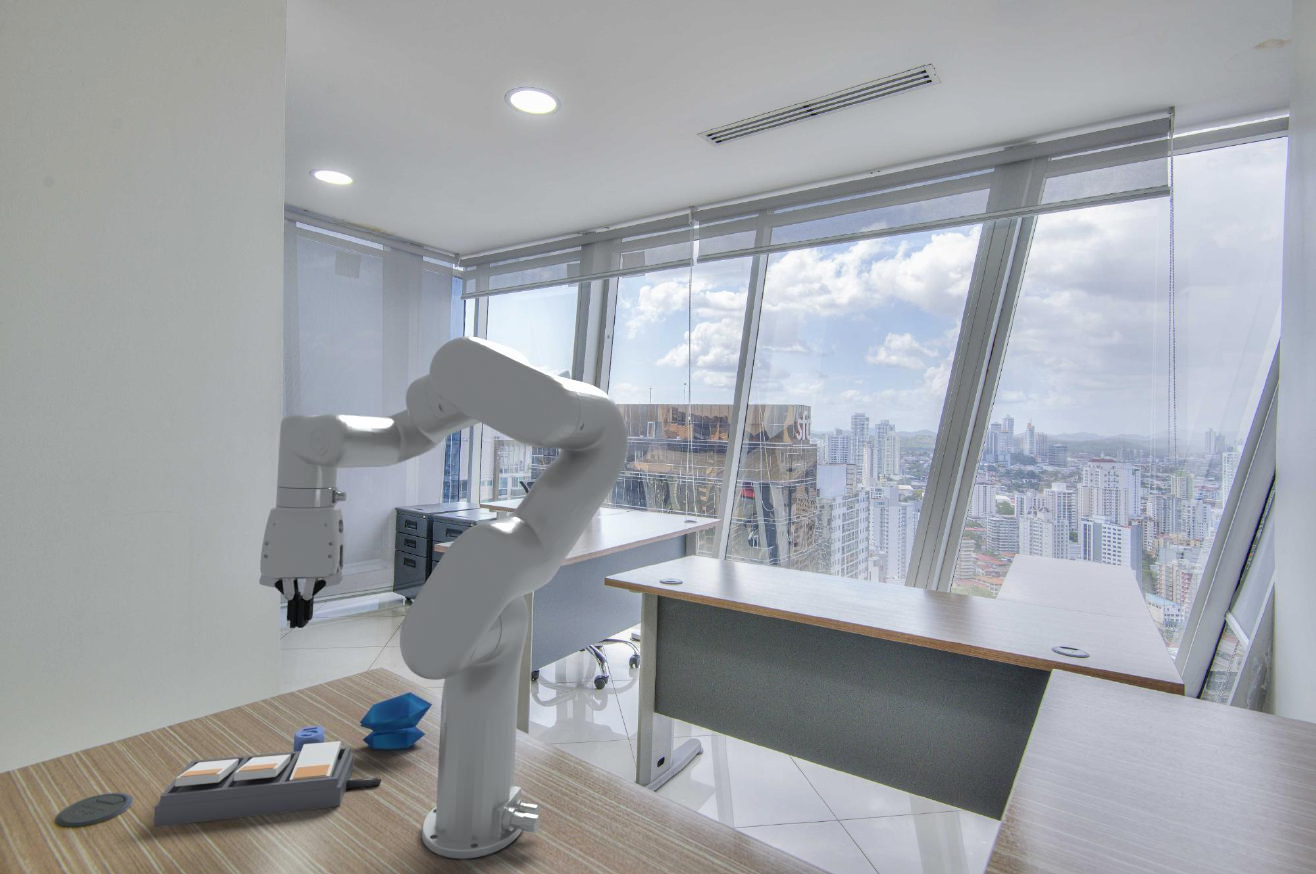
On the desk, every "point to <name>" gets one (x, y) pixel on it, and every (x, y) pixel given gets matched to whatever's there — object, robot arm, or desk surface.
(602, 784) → the desk surface
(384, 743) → the crystal
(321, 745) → the rocker
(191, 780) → the rocker
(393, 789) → the desk surface
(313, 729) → the decorative dice
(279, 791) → the strip
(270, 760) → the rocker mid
